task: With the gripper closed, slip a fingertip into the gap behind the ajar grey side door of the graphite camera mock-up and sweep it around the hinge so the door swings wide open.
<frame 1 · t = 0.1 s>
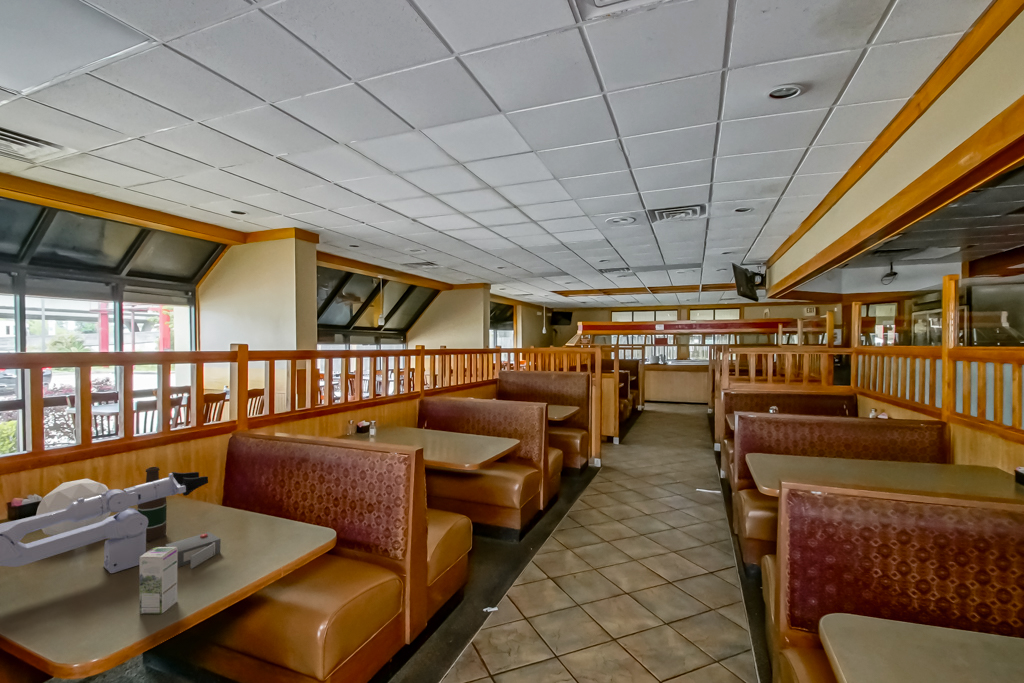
hand: (203, 477, 153), 22 cm above the table, tool horizontal, fingers open, 7 cm apart
side door: (203, 555, 138), point 2 cm above the table, hinge at 30.0°
syrup box: (158, 608, 114), on the table
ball: (76, 535, 156), on the table
camera body: (193, 556, 142), on the table
beer bottle: (152, 537, 155), on the table
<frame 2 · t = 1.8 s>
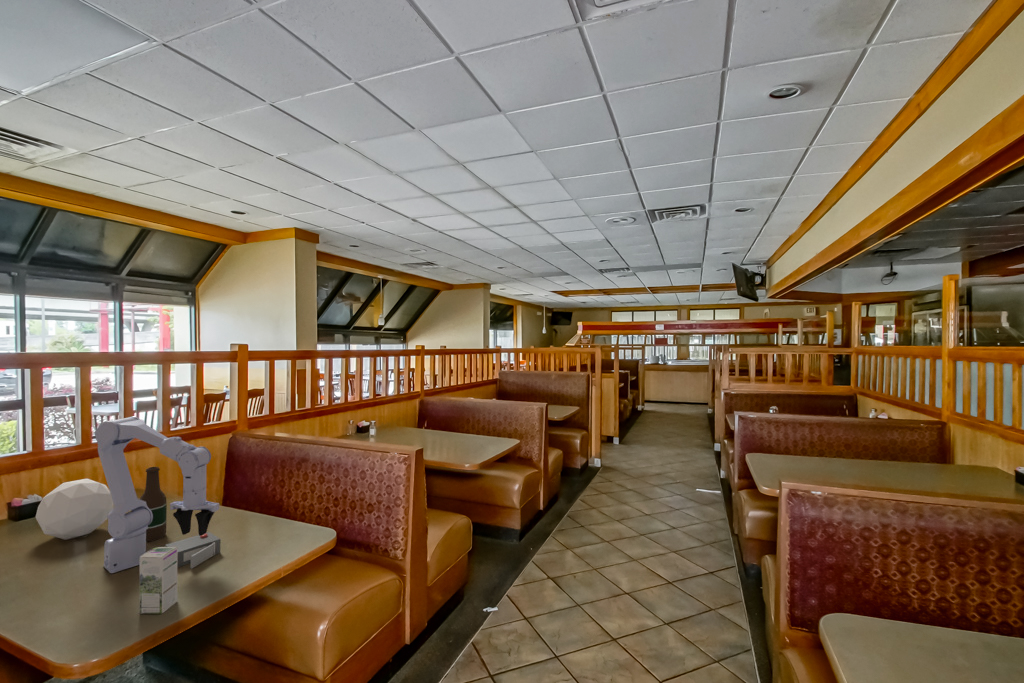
hand: (194, 533, 136), 9 cm above the table, tool pointing down, fingers open, 5 cm apart
nothing on the table moved.
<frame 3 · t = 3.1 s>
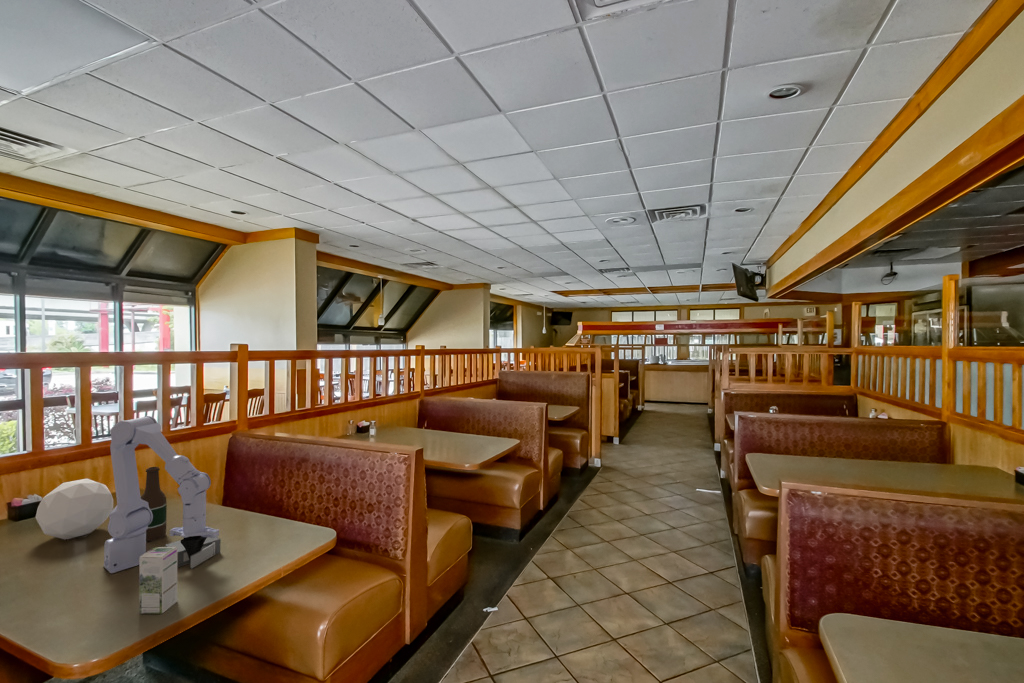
hand: (194, 560, 136), 1 cm above the table, tool pointing down, fingers closed
side door: (203, 555, 138), point 2 cm above the table, hinge at 30.0°, touching gripper
everything else where it was.
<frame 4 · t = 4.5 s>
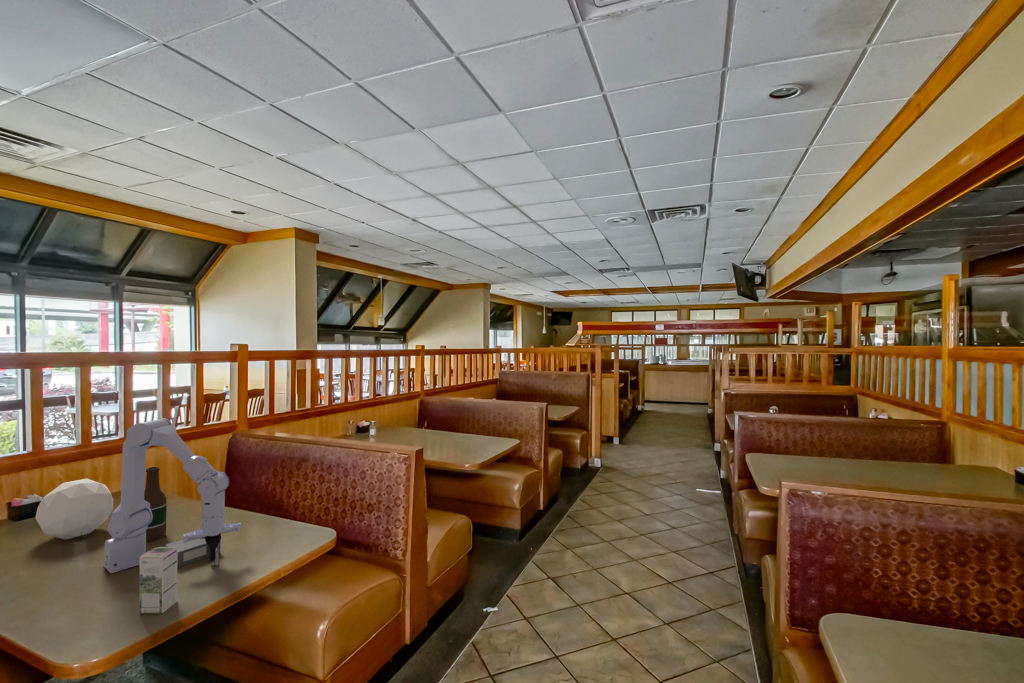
hand: (212, 559, 137), 1 cm above the table, tool pointing down, fingers closed, pressing on side door
side door: (215, 553, 139), point 2 cm above the table, hinge at 75.5°, touching gripper
everything else where it was.
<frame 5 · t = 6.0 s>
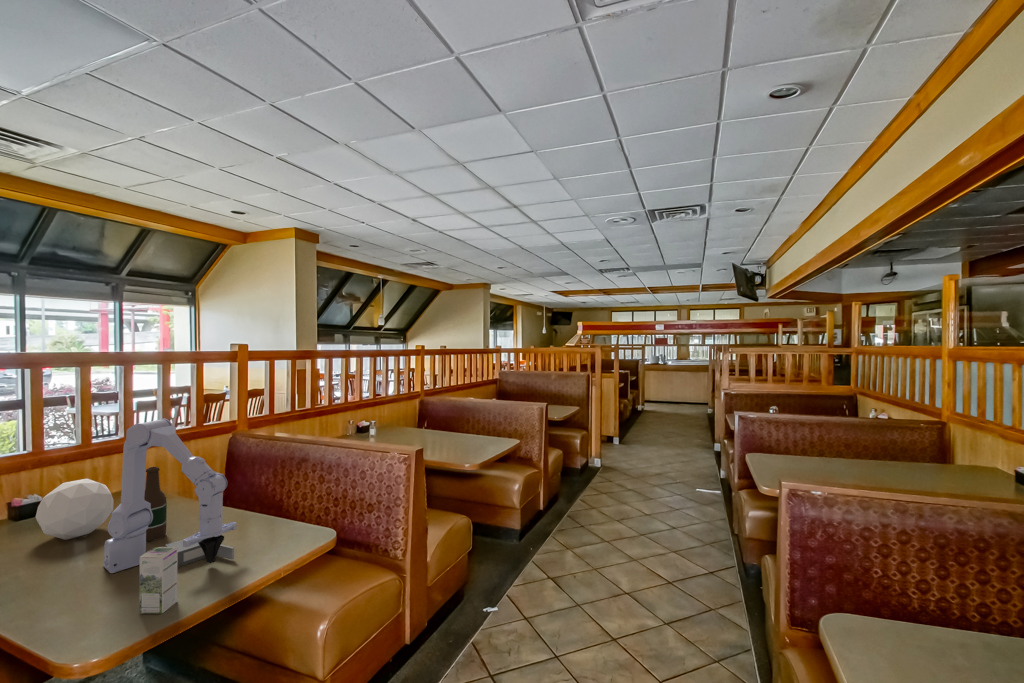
hand: (210, 561, 135), 2 cm above the table, tool pointing down, fingers closed
side door: (222, 551, 140), point 2 cm above the table, hinge at 105.4°
everything else where it was.
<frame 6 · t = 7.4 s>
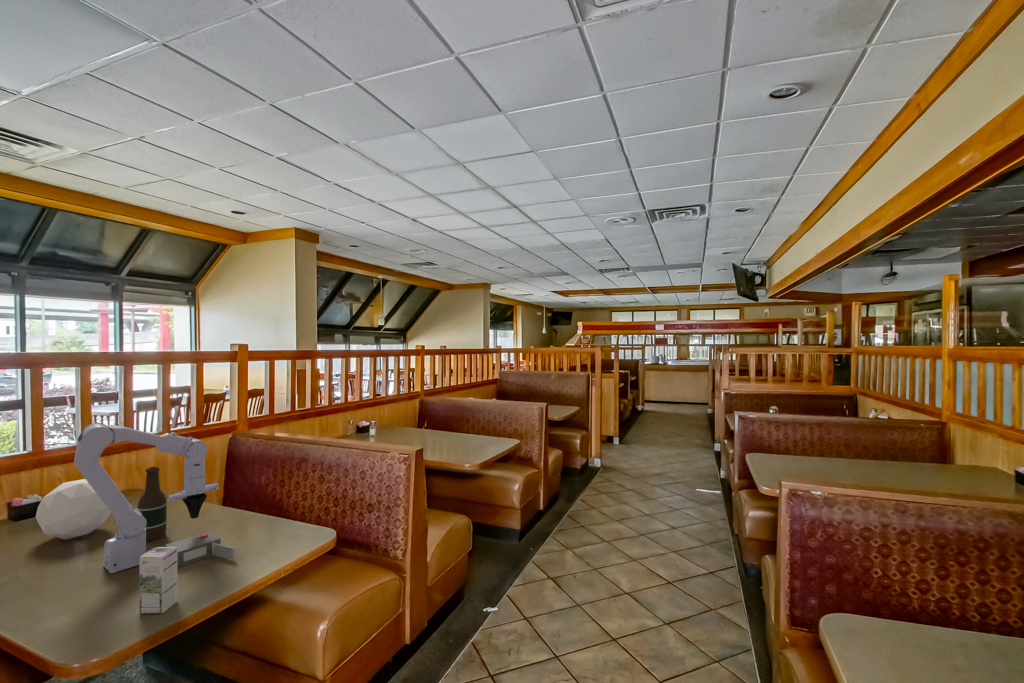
hand: (194, 517, 149), 9 cm above the table, tool pointing down, fingers closed
nothing on the table moved.
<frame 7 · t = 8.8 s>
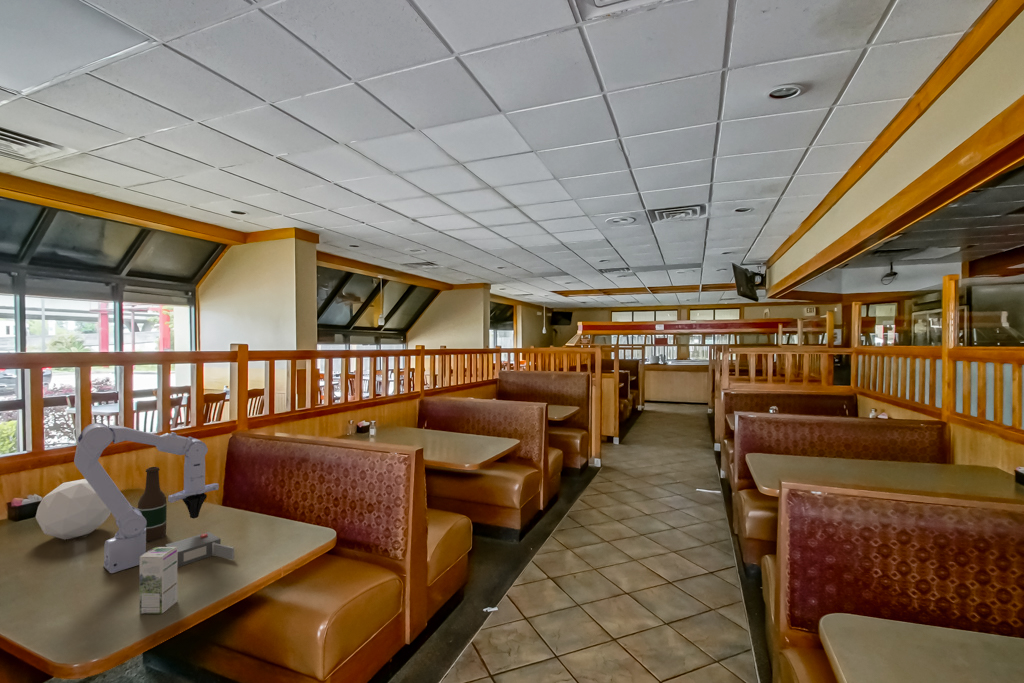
hand: (194, 517, 149), 9 cm above the table, tool pointing down, fingers closed
nothing on the table moved.
at the end: side door at +106° (first picture: +30°) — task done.
